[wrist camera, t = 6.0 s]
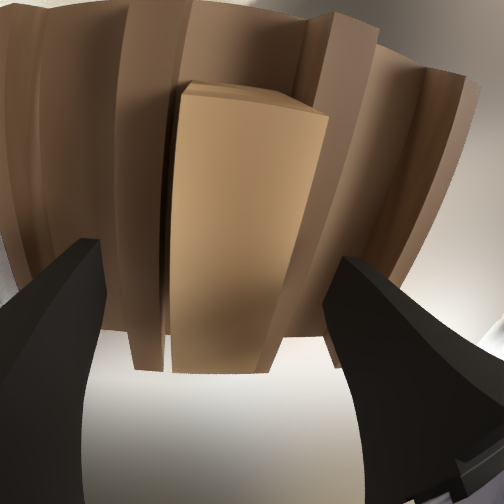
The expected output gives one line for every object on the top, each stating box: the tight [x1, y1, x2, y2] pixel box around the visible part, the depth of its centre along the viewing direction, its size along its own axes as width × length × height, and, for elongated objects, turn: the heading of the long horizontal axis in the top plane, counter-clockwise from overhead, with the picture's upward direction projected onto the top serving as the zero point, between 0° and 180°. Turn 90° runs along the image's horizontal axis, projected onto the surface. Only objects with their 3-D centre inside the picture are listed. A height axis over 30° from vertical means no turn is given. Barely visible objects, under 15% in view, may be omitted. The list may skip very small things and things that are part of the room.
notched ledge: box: [0, 0, 481, 373], centre depth 11 cm, size 17×16×3 cm
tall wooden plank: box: [170, 80, 329, 374], centre depth 10 cm, size 3×9×5 cm, turn 170°
